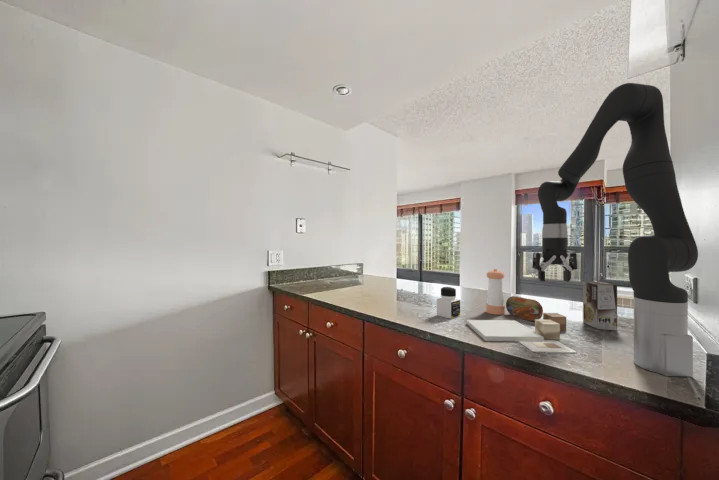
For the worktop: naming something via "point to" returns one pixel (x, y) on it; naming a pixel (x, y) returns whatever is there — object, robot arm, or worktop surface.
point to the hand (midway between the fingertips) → (554, 281)
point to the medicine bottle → (448, 303)
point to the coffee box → (600, 305)
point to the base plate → (503, 330)
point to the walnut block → (556, 319)
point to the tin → (524, 308)
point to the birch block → (547, 329)
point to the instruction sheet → (546, 346)
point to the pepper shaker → (495, 293)
